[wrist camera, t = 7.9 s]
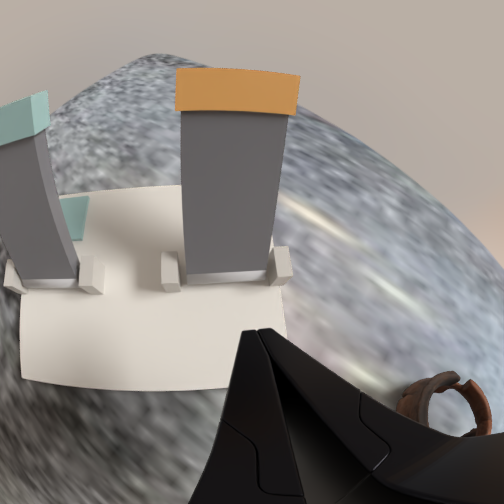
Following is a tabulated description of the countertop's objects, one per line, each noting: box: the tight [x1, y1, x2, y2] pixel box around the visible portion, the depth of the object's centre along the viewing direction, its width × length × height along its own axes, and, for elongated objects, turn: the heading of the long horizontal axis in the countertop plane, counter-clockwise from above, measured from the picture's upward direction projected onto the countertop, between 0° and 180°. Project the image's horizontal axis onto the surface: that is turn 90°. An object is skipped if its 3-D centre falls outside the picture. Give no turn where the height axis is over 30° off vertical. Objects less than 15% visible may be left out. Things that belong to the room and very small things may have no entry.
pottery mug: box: [396, 371, 492, 438], centre depth 12 cm, size 12×9×8 cm
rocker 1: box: [0, 90, 81, 288], centre depth 9 cm, size 1×4×10 cm, turn 97°
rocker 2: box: [175, 68, 300, 285], centre depth 11 cm, size 1×4×10 cm
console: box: [4, 185, 293, 391], centre depth 14 cm, size 12×16×4 cm
